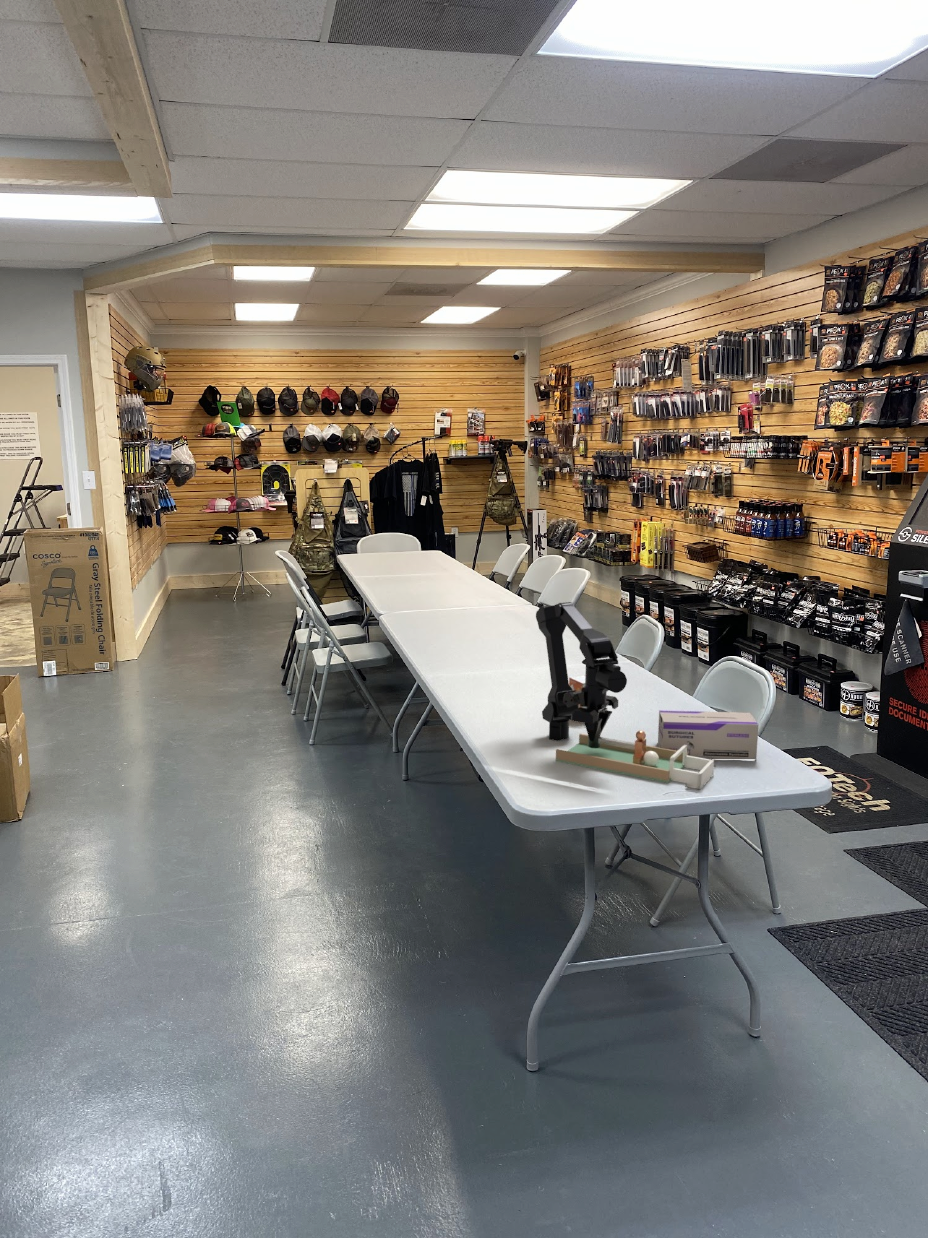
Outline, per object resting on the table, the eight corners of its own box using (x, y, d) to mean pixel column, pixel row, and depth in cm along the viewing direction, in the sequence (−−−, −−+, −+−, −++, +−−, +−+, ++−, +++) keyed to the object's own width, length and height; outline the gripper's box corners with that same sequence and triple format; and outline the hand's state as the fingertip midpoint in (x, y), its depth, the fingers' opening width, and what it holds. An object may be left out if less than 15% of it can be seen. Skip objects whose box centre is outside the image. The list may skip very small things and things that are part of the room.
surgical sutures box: (662, 759, 242) (663, 721, 240) (657, 746, 252) (659, 710, 250) (756, 762, 239) (758, 724, 237) (747, 749, 250) (750, 712, 248)
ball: (645, 761, 235) (647, 747, 234) (660, 765, 233) (661, 750, 232) (640, 766, 231) (641, 751, 231) (655, 769, 229) (656, 755, 229)
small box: (567, 717, 280) (568, 676, 277) (584, 714, 282) (585, 674, 280) (581, 724, 272) (582, 683, 270) (599, 721, 275) (600, 680, 272)
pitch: (580, 747, 251) (580, 733, 250) (687, 767, 235) (688, 752, 235) (555, 764, 238) (555, 750, 237) (667, 786, 222) (668, 771, 221)
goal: (683, 769, 234) (684, 744, 232) (713, 775, 230) (714, 749, 228) (668, 783, 224) (670, 757, 223) (700, 789, 220) (701, 763, 219)
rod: (592, 750, 243) (592, 718, 241) (647, 760, 235) (649, 727, 233) (584, 755, 239) (585, 723, 237) (641, 766, 231) (642, 732, 229)
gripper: (582, 672, 248) (581, 725, 251) (553, 687, 233) (552, 744, 236) (619, 677, 243) (618, 731, 246) (592, 693, 227) (591, 751, 230)
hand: (594, 739), depth 239 cm, fingers closed on rod, 3 cm apart
